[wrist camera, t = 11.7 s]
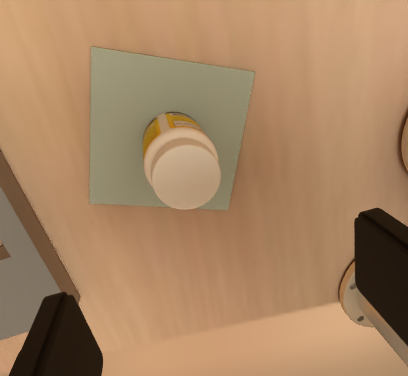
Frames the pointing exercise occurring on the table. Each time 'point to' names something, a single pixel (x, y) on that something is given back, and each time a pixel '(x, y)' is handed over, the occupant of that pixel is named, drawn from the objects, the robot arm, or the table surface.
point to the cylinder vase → (405, 145)
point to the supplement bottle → (180, 161)
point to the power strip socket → (24, 260)
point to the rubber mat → (153, 106)
